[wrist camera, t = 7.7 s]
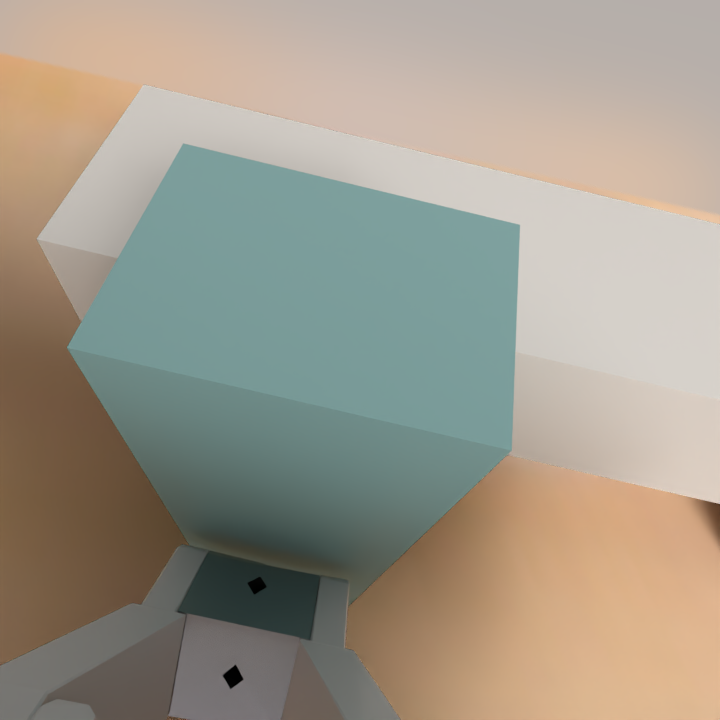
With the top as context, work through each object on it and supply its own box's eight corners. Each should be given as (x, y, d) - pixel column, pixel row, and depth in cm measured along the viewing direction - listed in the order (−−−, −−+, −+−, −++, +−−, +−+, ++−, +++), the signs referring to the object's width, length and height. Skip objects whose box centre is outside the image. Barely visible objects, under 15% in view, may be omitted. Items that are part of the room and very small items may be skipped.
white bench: (753, 448, 19) (1052, 305, 12) (782, 582, 17) (1179, 507, 9) (194, 318, 18) (143, 84, 11) (143, 437, 16) (36, 239, 9)
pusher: (408, 287, 20) (545, -106, 10) (350, 614, 14) (542, 457, 4) (305, 263, 20) (339, -158, 10) (204, 582, 14) (34, 340, 4)
